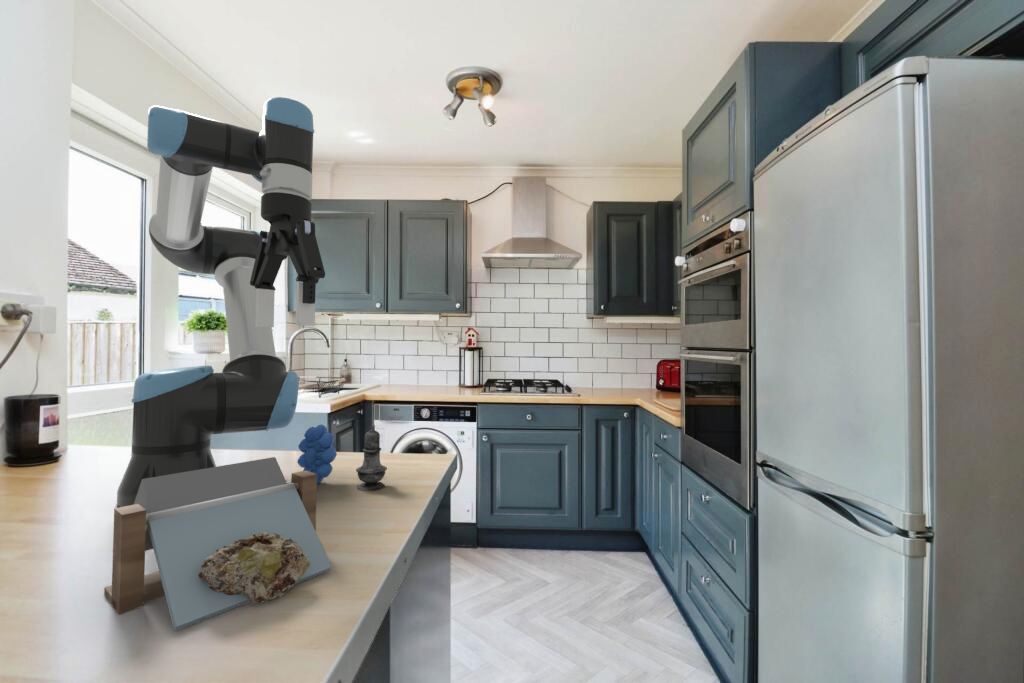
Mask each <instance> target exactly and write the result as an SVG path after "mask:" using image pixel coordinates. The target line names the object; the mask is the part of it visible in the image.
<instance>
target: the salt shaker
mask: <svg viewBox="0 0 1024 683" xmlns="http://www.w3.org/2000/svg"><path fill="white" fill-rule="evenodd" d="M380 436H381V435H380V432H378V430H375V427H374V426H373V425H372V426H371V427H370V430H369V431H367V432H366V433H365V434H364V448H362V451H363V461H362V462H363V463H362V465H361V466H359V467H357V468H356V469H355V471H356V472H357V477H358V478H359V481H361V482H362V483H360V484H359V485H358V486H356V488H357V490H359V491H363V492H374V491H379V490H381V489H384V488H385V487H386V484H384V482H381V481H382V479H383V478H384V477H385V475H386V470H387V469H388V468H387V466H385V465H382V464H381V463H382V462H381V458H380V456H381V455H380V454H381V451H382V448H381V447H380V443H381V442H380V441H381V438H380Z"/></svg>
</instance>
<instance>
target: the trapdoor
mask: <svg viewBox="0 0 1024 683" xmlns="http://www.w3.org/2000/svg"><path fill="white" fill-rule="evenodd" d="M134 504H139V505H140V506H142V507H143V508H144V509H146V535H145V552H147V551H150V550H151V551H152V550H153V553H154V557H155V560H156V564H157V568H158V571H159V573H160V577H161V580H162V584H163V588H164V592H165V595H164V596H165V599H166V603H167V607H168V611H169V615H170V618H171V623H172V626H173V631H174V632H176V631H179V630H181V629H183V628H186V627H188V626H191V625H195V624H196V623H199V622H202V621H204V620H207V619H209V618H212V617H214V616H217V615H219V614H222V613H225V612H227V611H231V610H232V609H235V608H238V607H240V606H243V605H246V604H248V603H251V602H252V601H250V597H249V596H245V595H243V594H237V595H227V594H224V593H223V592H215V591H213V590H212V589H211V588H209V586H208V585H207V581H206V580H202V579H200V578H199V576H198V574H199V573H200V572H201V571H202V567H201V566H202V565H203V564H204V560H205V559H206V558H207V557H209V556H210V555H212V554H214V553H215V551H216V550H219V549H220V548H222V547H223V546H229V545H231V544H232V543H233V542H235V541H238V540H239V539H246V538H247V539H248V537H250V536H252V535H254V534H256V535H257V534H260V533H261V534H262V533H264V532H265V531H267V532H269V533H270V534H271V535H273V534H274V533H278V534H281V535H280V538H282V539H285V538H290V539H292V540H293V541H295V542H297V543H298V544H300V547H301V549H302V550H303V552H305V554H307V555H306V556H308V558H309V560H310V566H309V568H308V569H307V570H306V572H305V573H304V574H303V576H302V577H301V578H300V579H298V580H297V581H296V582H295V583H294V585H296V584H298V583H302V582H305V581H307V580H310V579H312V578H314V577H316V576H319V575H322V574H324V573H325V574H326V573H327V572H330V570H332V568H333V567H332V564H331V563H330V560H329V557H328V555H327V553H326V550H325V549H324V547H323V545H322V542H321V540H320V538H319V536H318V534H317V532H316V531H317V530H316V531H315V529H314V527H313V525H312V523H311V520H310V518H309V516H308V514H307V512H306V510H305V507H304V505H303V503H302V501H301V499H300V497H299V494H298V492H297V490H296V488H295V484H294V483H291V482H289V483H287V480H286V478H285V476H284V474H283V471H282V469H281V466H280V464H279V462H278V460H277V458H276V457H275V456H272V457H267V458H261V459H255V460H249V461H243V462H238V463H237V462H235V463H229V464H225V465H219V466H216V467H212V468H206V469H200V470H194V471H188V472H182V473H176V474H170V475H164V476H158V477H152V478H145V479H142V481H141V484H140V487H139V490H138V493H137V496H136V499H135V502H134Z"/></svg>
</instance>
